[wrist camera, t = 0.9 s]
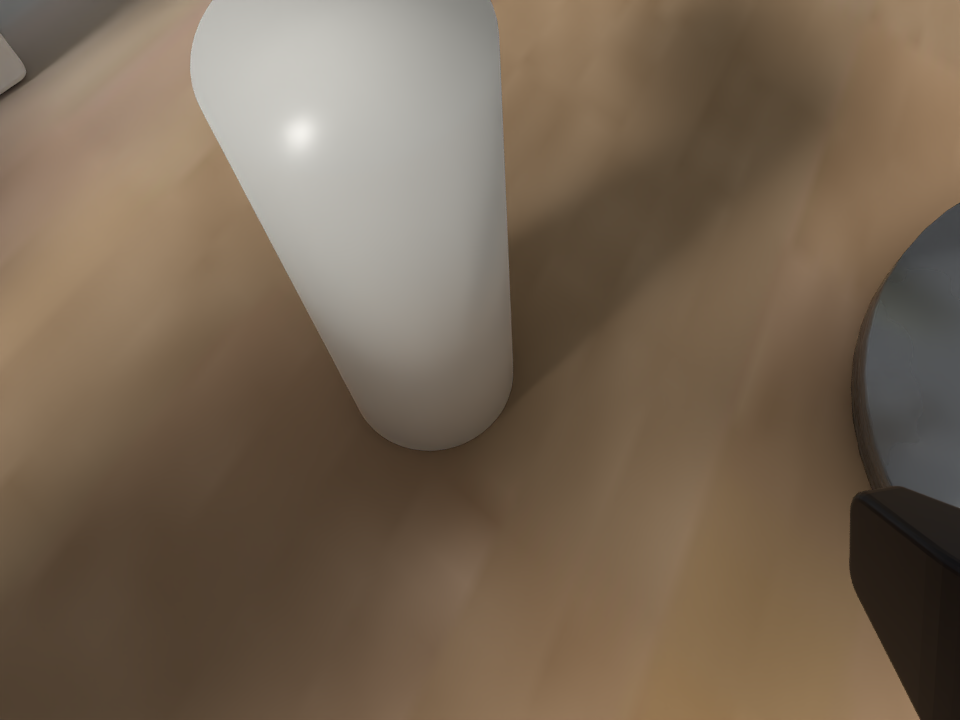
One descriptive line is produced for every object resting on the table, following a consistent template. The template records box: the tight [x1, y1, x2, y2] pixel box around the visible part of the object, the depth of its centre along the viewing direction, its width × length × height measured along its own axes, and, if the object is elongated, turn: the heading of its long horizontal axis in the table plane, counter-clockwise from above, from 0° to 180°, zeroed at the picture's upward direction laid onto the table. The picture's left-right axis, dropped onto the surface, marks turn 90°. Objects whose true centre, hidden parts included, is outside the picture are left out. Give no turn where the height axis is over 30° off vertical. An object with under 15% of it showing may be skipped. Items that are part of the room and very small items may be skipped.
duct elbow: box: [190, 0, 513, 451], centre depth 19 cm, size 7×4×12 cm, turn 9°
